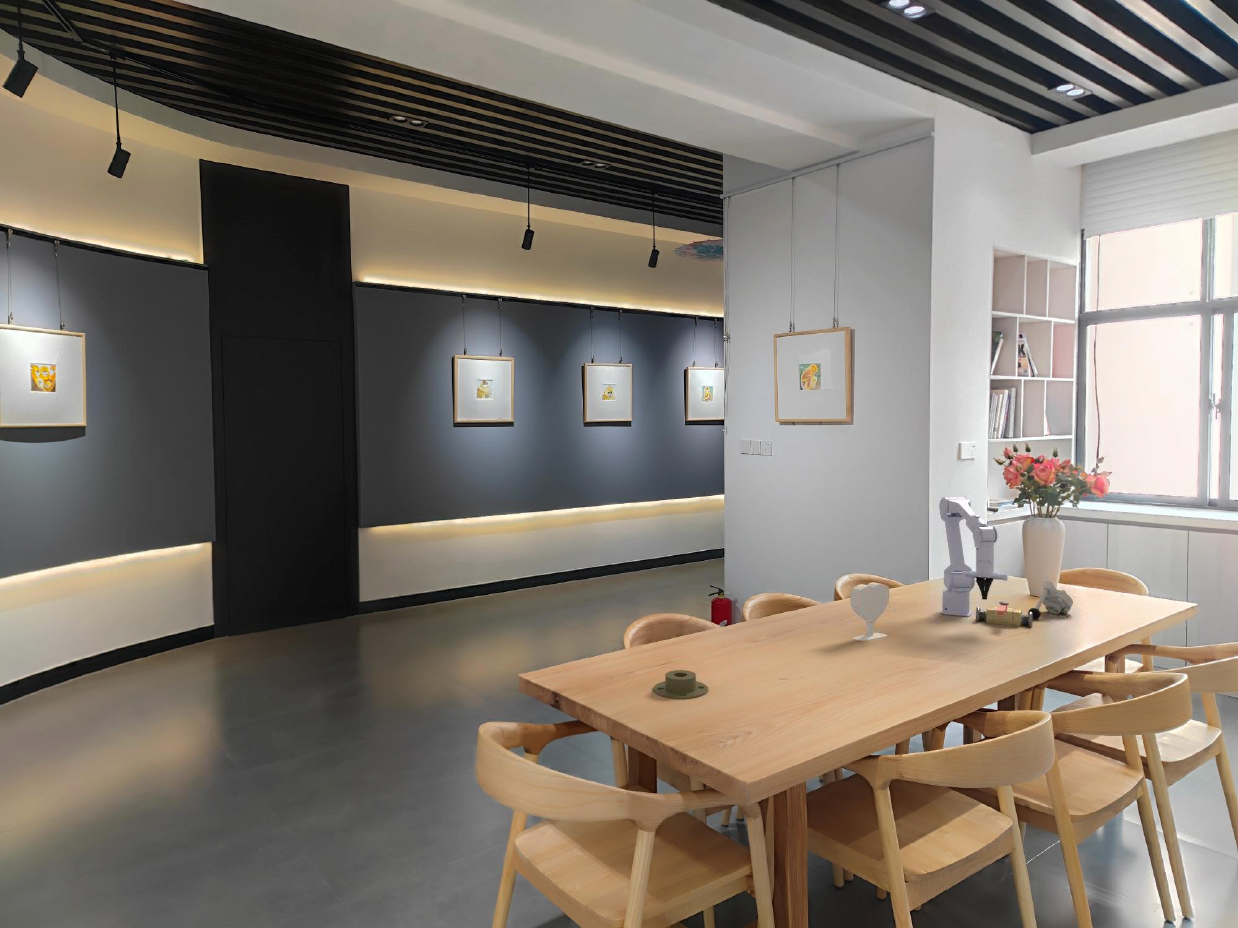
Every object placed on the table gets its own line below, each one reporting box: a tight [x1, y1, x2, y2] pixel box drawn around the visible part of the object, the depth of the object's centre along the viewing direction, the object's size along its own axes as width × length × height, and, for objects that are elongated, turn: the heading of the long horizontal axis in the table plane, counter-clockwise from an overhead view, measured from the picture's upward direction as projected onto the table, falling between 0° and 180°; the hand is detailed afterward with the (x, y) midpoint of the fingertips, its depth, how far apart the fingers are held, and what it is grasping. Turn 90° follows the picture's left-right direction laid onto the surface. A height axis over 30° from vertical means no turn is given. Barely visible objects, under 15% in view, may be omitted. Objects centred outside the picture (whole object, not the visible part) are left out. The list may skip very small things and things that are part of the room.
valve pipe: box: [975, 606, 1034, 628], centre depth 290 cm, size 18×6×6 cm, turn 60°
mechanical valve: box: [1027, 580, 1074, 620], centre depth 300 cm, size 10×18×15 cm
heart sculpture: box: [849, 581, 890, 642], centre depth 274 cm, size 16×5×18 cm, turn 122°
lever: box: [998, 601, 1010, 615], centre depth 285 cm, size 13×3×2 cm, turn 150°
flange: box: [653, 669, 709, 700], centre depth 223 cm, size 5×15×15 cm
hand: (984, 599), depth 284 cm, fingers closed
